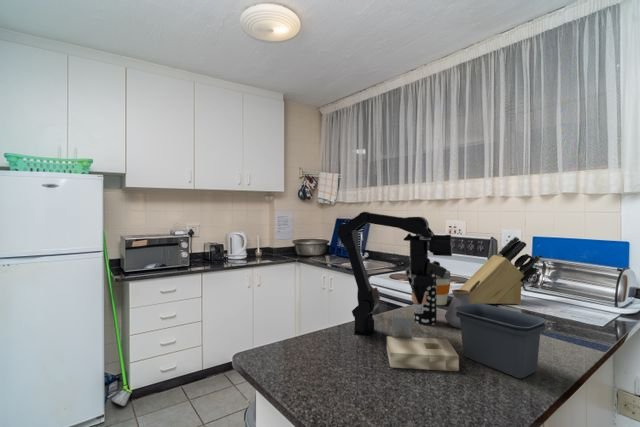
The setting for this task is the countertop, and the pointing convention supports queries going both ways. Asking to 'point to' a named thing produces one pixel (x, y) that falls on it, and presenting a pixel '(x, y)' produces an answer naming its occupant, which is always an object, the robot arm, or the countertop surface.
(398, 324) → the latch flap
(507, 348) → the storage bin
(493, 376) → the countertop surface
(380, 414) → the countertop surface
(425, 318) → the white-spotted black cylinder
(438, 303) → the reusable coffee cup
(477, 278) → the knife block
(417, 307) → the peg
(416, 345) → the block
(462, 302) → the coffee pot
